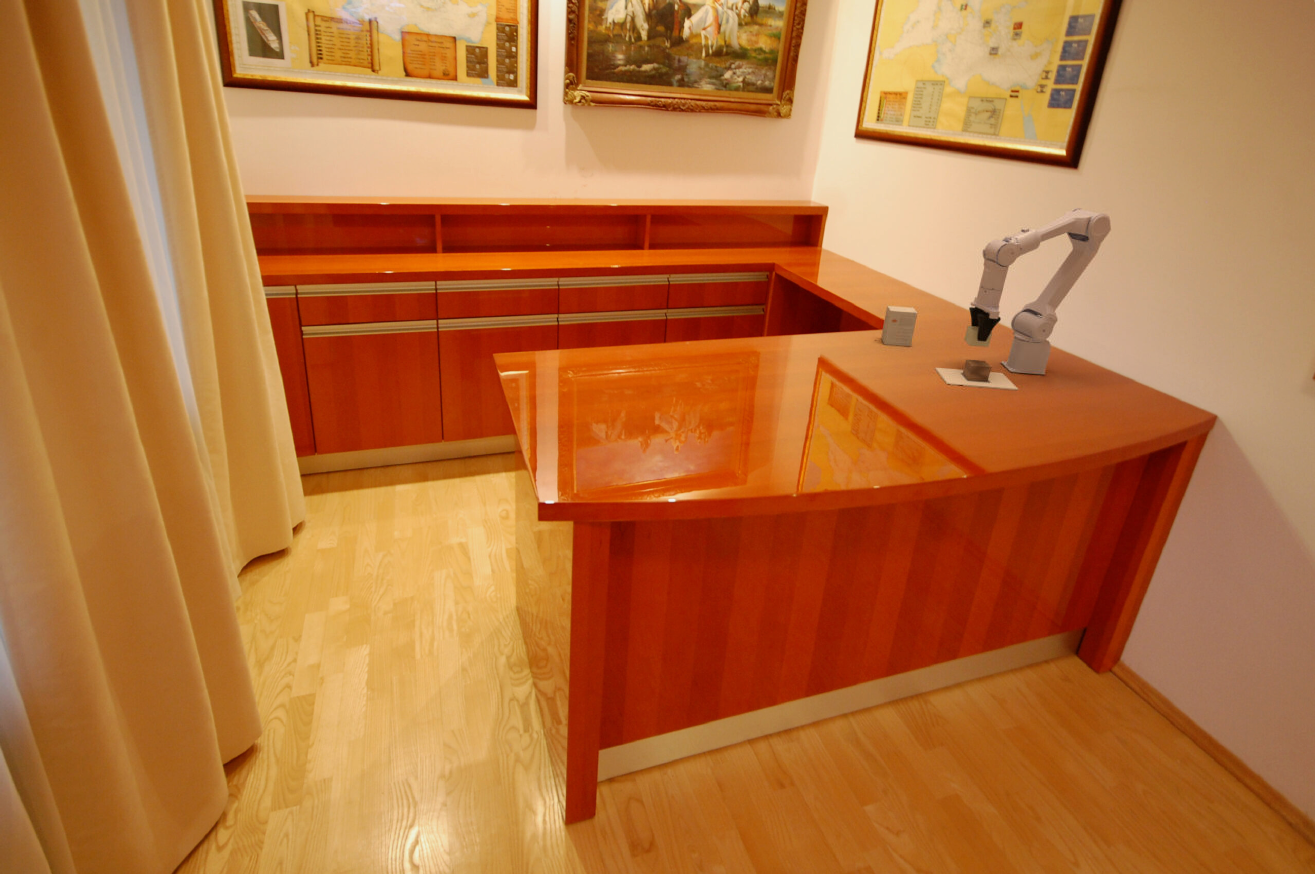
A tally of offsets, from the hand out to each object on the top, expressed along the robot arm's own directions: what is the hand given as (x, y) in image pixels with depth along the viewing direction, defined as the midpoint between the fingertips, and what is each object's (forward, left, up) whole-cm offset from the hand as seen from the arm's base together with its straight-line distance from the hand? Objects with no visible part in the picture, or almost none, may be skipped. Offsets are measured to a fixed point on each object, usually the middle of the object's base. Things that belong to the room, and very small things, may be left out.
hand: (978, 337), depth 200 cm
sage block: (0, 0, -2) cm, 2 cm away
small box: (+16, -21, -10) cm, 28 cm away
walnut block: (+1, +7, -9) cm, 11 cm away
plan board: (+1, +7, -9) cm, 12 cm away
